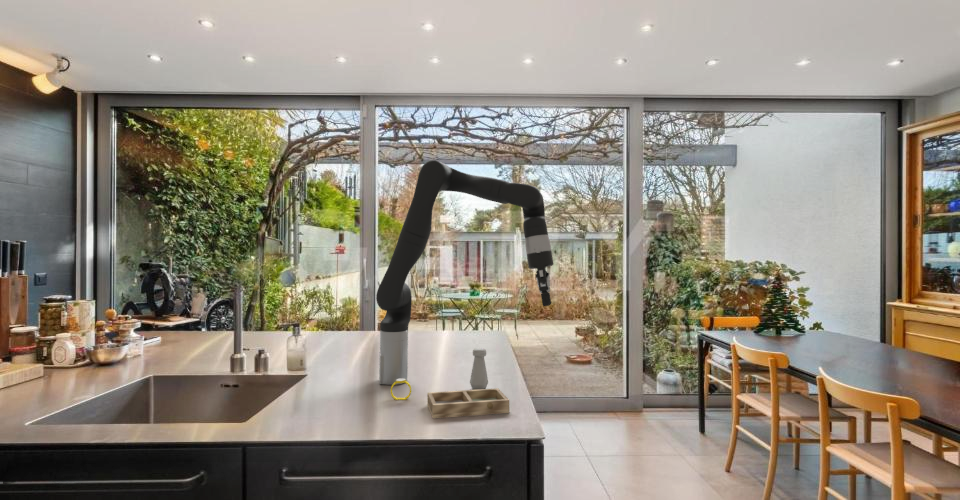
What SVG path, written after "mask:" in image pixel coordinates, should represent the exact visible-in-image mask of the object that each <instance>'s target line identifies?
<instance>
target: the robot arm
mask: <svg viewBox="0 0 960 500" xmlns="http://www.w3.org/2000/svg"><path fill="white" fill-rule="evenodd" d="M443 191H444V192H457V193H463V194H467V195H470V196H474V197H476V198H479V199H482V200H487V201H490V202H494V203H499V204H504V205H505V204H506V205H513V206H518V207H521V208H522V214H523V224H522V227H523V235H524V243H525V253H526V259H527V265H528V269H529V270H535V269H536V274H535V279H536V284H537V287H538V291H539V293H540V296H541V303H542V307H549V306H551V304H552V301H551V300H552V299H551V293H550V292H551V288H550V286H551V282H550V278H551V277H550V273H549V272H548V271H547V269H546V268H548V267H552V266H554V259H553V251H552V246H551V241H550V238H549V233H548V227H547V223H546V222H547V221H546V218H545V217H546V213H545V211H546V210H545V202H544V201H545V200H544V196H543V195H542V193H541V191H540V189H538V188H537V187H536V186H534V185H531V184H526V183H520V182H519V183H518V182H510V181H507V180H503V179H498V178H494V177H489V176H481V175H475V174H468V173H465V172H462V171H459V170H457V169H455V168H454V167H450V166H449V165H448V164H445V163H444V162H441V161H440V160H436V159H431V160H428V161H426V162H425V163H424V164H423V165H422V166H421V168H420V171H419V173H418V177H417V180H416V185H415V188H414V193H413V197H412V200H411V203H410V206H409V209H408V211H407V213H406V217H405V220H404V222H403V225H402V227H401V230H400V232H399V235H398V239H397V242H396V245H395V248H394V250H393V253H392V255H391V258H390V260H389V261H390V262H389V264H388V266H387V269H386V271H385V273H384V275H383V277H382V280H381V282H380V284H379V286H378V288H377V291H376V295H375V296H376V297H375V298H376V299H375V300H376V304H377V306H378V307H379V308H380V309H381V310H382V311H386V313H385V316H384V317H383V319H382V320H381V321H380V323H379V324H380V325H379V358H378V359H379V361H378V362H379V363H378V365H379V367H378V374H379V376H378V379H379V385H388V386H392V385H393V383H394V382H396V380H397V379H400V378H403V379H406V381H407V382H408V376H409V375H408V374H409V373H408V368H409V366H408V365H409V363H408V362H409V360H408V359H409V324H410V322H411V317H412V302H413V301H412V300H413V299H412V291H411V288H410V286H409V285H408V284H407V283H406V281H407V278H408V276H409V273H410V271H411V270H412V269H413V268H414V266H415V264H416V263H417V262H418V261H419V260H420V258H421V256H422V255H423V253H424V251H425V249H426V247H427V244H428V241H429V238H430V235H431V231H432V222H433V221H432V219H433V208H434V206H435V205H434V204H435V201H436V199H437V197H438V195H439V192H443ZM403 384H404V383H396V384H395V385H403ZM395 385H394V386H395Z"/></svg>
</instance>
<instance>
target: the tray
mask: <svg viewBox="0 0 960 500" xmlns="http://www.w3.org/2000/svg"><path fill="white" fill-rule="evenodd" d="M426 402H427V404H426V405H427V408H428V410H429V412H430V415H431V418H432V419H442V418H443V419H444V418H457V417H458V418H461V417H470V416H471V417H472V416H486V415H499V414H509V413H510V399H509V397H507V395H505V394H504V392H502V390H501V389H499V388H498V387H497V388H496V387H495V388H486V389H479V390H473V389H468V390H467V389H465V390H450V391H448V390H447V391H446V390H445V391H433V392H432V391H431V392H430V391H429V392H427V401H426Z"/></svg>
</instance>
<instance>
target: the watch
mask: <svg viewBox="0 0 960 500" xmlns="http://www.w3.org/2000/svg"><path fill="white" fill-rule="evenodd" d="M396 383H403V384H406V385H407V386H408V388H409V393H408V395H407V396H405V397H397V396H395V395H394V393H393V388H394V386H395V384H396ZM390 386H391V387H390V395H391V397H392V398H393V399H394V400H395V401H407V400H408V399H409V398H410V396H411V393H412V385H411V384H410V383H409V381H408V380H407V381H406V379H403V378H400V379H397V380H396V382H394V383H393V385H390Z"/></svg>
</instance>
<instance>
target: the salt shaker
mask: <svg viewBox="0 0 960 500" xmlns="http://www.w3.org/2000/svg"><path fill="white" fill-rule="evenodd" d="M472 356H473V362H472V363H473V364H472V369H471V374H470V379H469V384H470V387H471V390H479V389H487V387H488V384H489V377H488V372H487V367H486V366H487V365H486V361H485V357H486V356H487V349H485V348H483V347H475V348H474V349H473V350H472Z"/></svg>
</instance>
